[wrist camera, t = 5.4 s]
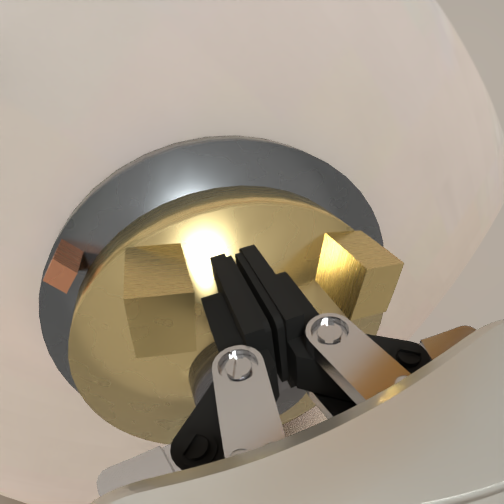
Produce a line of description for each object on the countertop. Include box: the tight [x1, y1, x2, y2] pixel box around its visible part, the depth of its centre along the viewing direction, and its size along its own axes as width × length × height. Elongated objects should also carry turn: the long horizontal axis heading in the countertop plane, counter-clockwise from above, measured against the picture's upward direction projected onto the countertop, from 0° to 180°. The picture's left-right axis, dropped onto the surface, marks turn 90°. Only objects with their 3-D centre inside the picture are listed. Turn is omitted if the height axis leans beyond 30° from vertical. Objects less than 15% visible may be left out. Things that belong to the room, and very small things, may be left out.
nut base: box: [39, 136, 383, 392], centre depth 17 cm, size 22×22×3 cm
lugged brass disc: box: [68, 185, 404, 444], centre depth 15 cm, size 18×18×6 cm
